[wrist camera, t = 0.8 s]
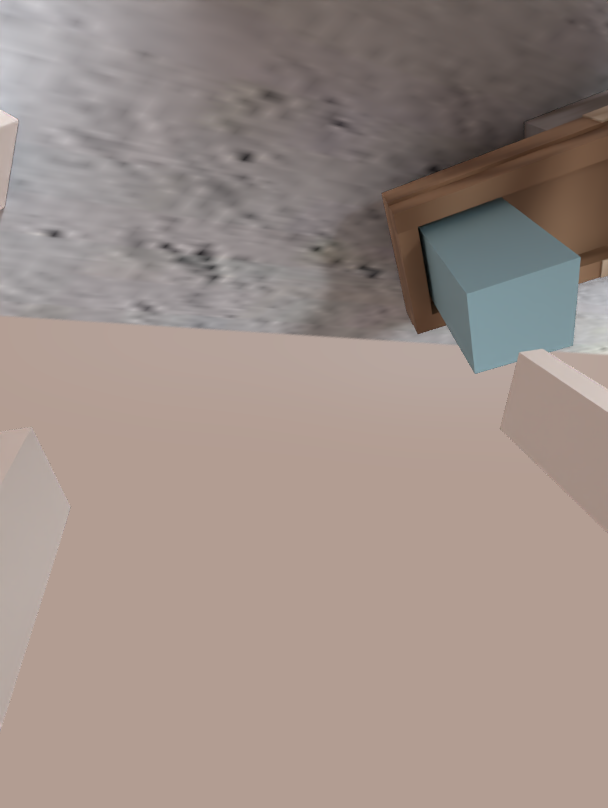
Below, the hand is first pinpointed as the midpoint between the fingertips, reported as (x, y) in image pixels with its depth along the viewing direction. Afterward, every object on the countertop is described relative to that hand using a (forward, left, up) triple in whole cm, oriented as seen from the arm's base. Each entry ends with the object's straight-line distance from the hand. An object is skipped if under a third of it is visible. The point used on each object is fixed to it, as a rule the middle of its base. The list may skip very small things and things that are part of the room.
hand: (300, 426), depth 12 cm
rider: (-6, +10, -18) cm, 22 cm away
